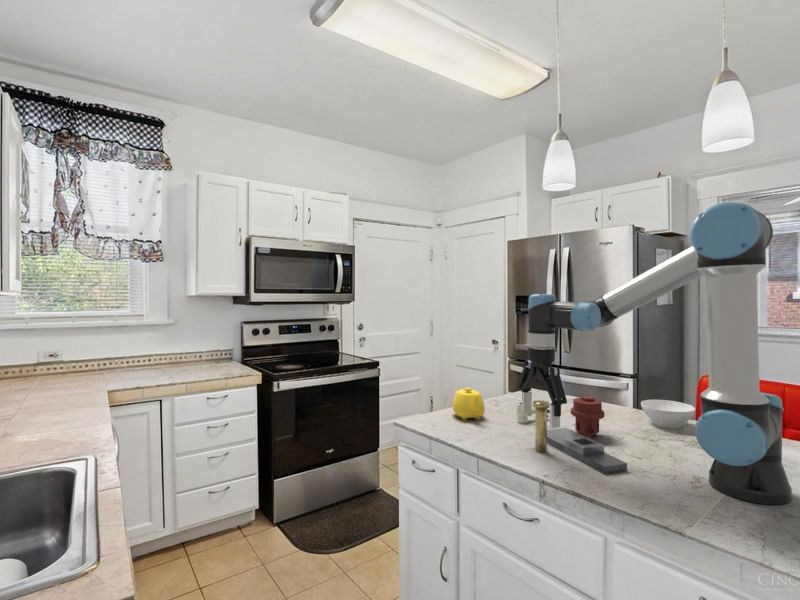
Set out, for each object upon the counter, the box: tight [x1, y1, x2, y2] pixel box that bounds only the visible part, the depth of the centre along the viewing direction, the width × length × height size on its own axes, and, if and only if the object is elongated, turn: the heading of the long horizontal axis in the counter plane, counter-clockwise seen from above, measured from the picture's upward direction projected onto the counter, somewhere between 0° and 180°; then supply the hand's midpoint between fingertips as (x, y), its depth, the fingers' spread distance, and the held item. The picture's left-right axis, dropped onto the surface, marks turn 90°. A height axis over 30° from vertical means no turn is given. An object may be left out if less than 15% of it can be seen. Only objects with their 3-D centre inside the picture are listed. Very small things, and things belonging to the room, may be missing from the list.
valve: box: [515, 400, 550, 424], centre depth 158 cm, size 7×7×12 cm
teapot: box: [452, 387, 486, 421], centre depth 162 cm, size 18×11×11 cm, turn 13°
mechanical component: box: [570, 395, 605, 439], centre depth 141 cm, size 12×10×10 cm
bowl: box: [640, 399, 696, 430], centre depth 151 cm, size 16×16×7 cm
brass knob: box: [532, 399, 551, 454], centre depth 128 cm, size 5×5×14 cm
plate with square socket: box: [547, 427, 628, 475], centre depth 124 cm, size 24×7×4 cm, turn 17°
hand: (540, 420), depth 128 cm, fingers open, 13 cm apart
